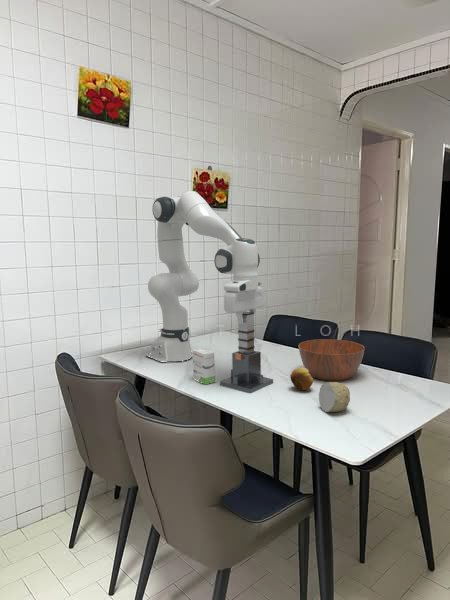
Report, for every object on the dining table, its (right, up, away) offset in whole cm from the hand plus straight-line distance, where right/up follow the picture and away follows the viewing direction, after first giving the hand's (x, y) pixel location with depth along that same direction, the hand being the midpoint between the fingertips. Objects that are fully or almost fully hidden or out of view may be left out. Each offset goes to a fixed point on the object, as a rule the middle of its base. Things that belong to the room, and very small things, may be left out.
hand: (245, 322), depth 160 cm
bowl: (+34, -21, +13) cm, 42 cm away
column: (0, -14, +2) cm, 15 cm away
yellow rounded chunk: (+27, -26, -23) cm, 44 cm away
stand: (0, -23, +3) cm, 23 cm away
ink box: (-16, -23, +7) cm, 29 cm away
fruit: (+19, -24, -4) cm, 31 cm away
